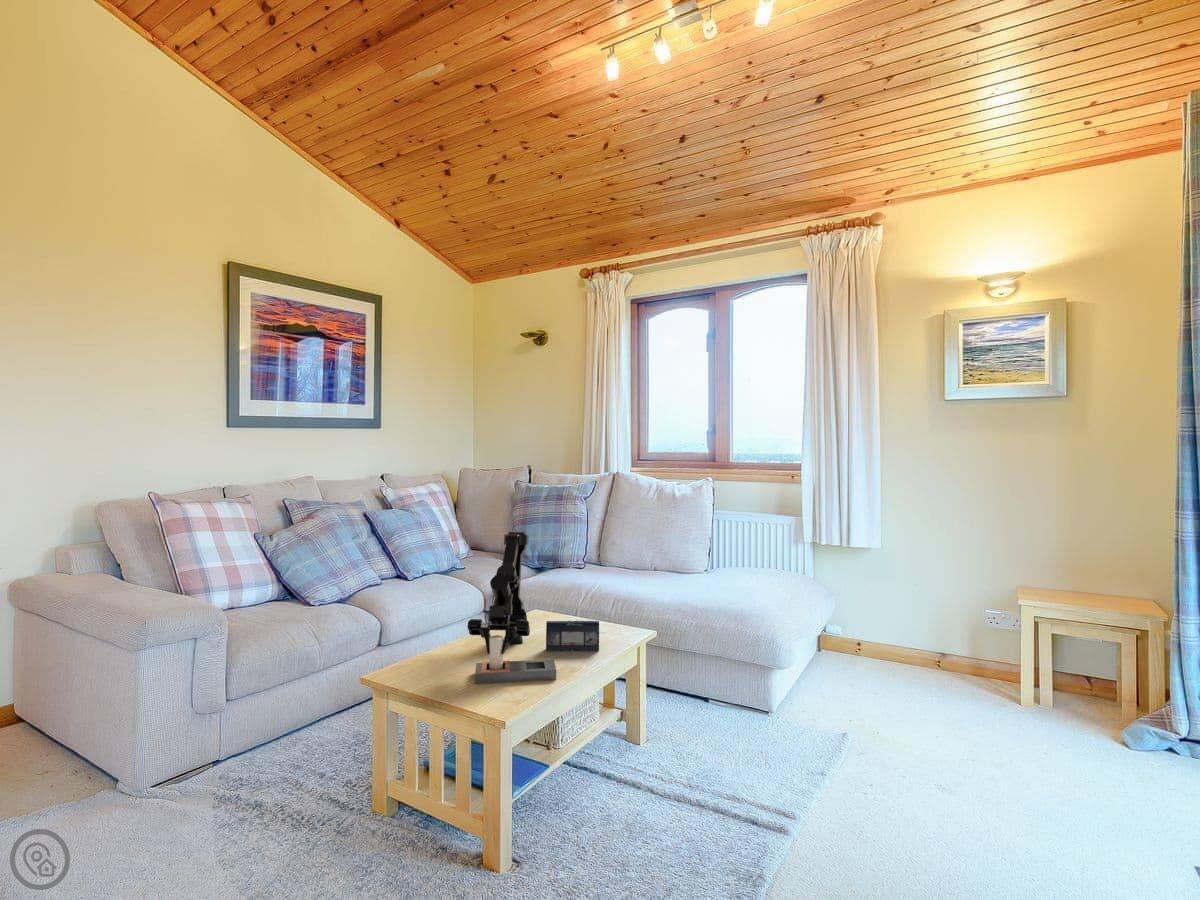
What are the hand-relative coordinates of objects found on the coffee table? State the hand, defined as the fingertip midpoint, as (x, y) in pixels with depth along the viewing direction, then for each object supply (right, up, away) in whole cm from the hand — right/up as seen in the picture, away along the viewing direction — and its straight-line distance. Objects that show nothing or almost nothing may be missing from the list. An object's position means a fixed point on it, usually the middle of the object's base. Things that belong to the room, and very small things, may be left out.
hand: (495, 653), depth 183 cm
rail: (+6, -8, +2) cm, 10 cm away
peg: (0, -7, +1) cm, 7 cm away
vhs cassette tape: (+22, -8, +26) cm, 35 cm away
